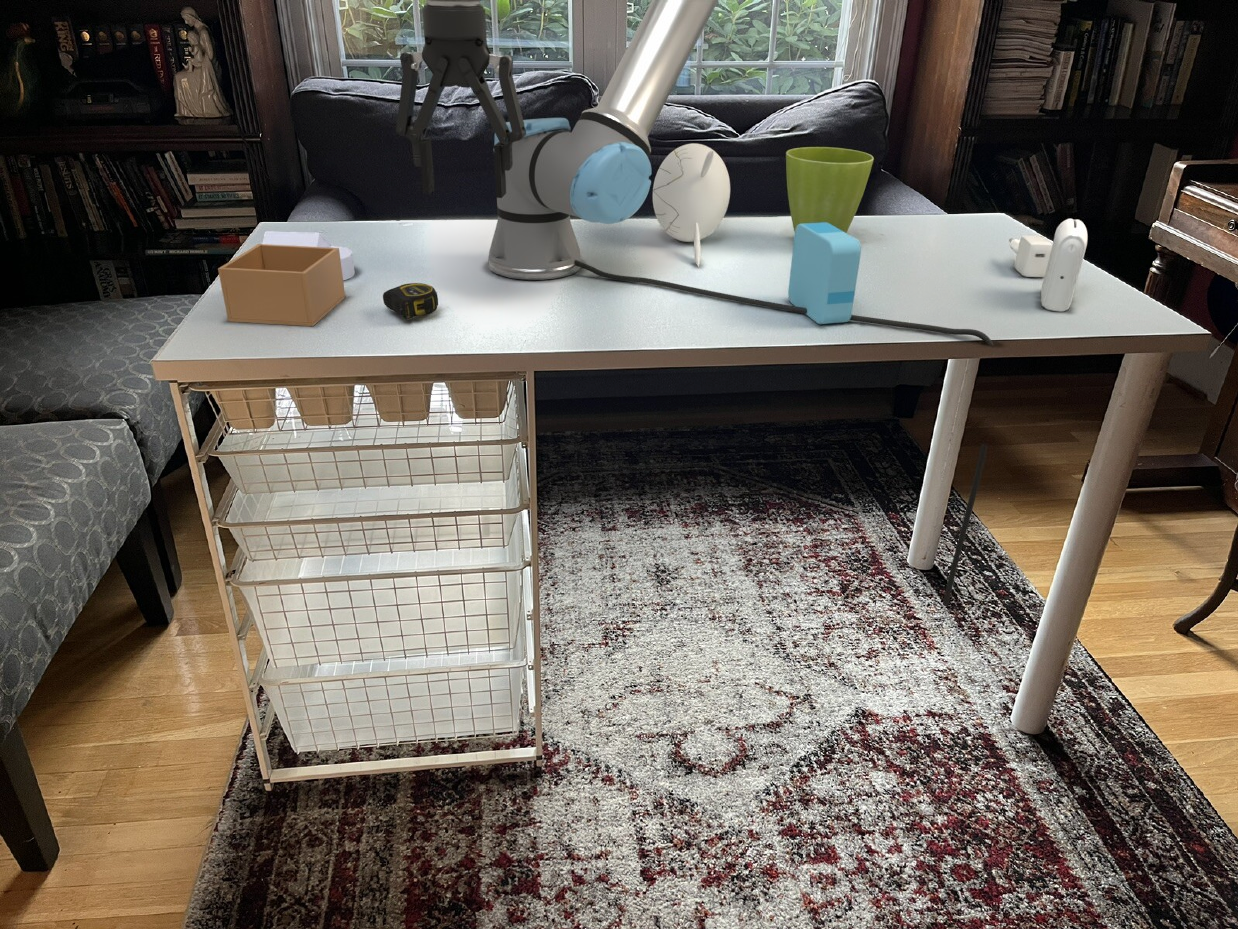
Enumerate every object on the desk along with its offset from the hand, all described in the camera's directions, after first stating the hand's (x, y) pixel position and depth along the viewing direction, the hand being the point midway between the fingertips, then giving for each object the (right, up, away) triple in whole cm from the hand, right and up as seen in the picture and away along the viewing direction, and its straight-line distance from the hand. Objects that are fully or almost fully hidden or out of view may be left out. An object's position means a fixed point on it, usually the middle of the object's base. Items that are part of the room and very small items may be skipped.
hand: (465, 193), depth 121 cm
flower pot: (+56, +4, +45) cm, 72 cm away
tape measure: (-9, -15, +9) cm, 20 cm away
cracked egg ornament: (+33, +3, +43) cm, 55 cm away
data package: (+50, -14, +14) cm, 53 cm away
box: (-27, -13, +11) cm, 32 cm away
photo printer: (+88, -11, +20) cm, 91 cm away
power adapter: (+89, -3, +35) cm, 96 cm away
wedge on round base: (-28, -6, +25) cm, 38 cm away
